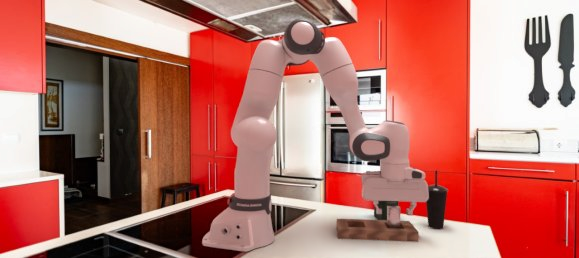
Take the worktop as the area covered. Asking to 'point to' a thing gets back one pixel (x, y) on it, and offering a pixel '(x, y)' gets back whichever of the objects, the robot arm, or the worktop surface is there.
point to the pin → (393, 216)
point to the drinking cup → (436, 205)
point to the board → (375, 230)
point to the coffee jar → (384, 209)
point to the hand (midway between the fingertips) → (394, 214)
